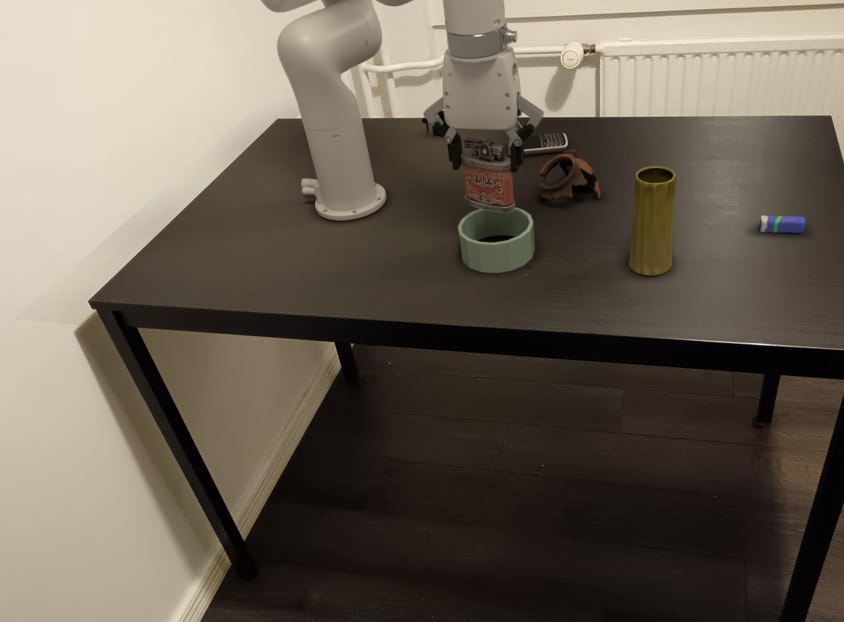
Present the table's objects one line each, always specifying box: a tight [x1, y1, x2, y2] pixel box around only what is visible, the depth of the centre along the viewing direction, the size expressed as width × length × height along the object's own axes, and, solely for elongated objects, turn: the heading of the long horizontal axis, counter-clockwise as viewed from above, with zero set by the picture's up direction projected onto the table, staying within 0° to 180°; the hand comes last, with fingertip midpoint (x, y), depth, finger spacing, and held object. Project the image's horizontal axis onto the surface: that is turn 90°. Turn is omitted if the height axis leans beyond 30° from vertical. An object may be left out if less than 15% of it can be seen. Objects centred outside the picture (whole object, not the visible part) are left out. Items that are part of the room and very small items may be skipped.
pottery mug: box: [537, 148, 602, 201], centre depth 126 cm, size 12×10×8 cm
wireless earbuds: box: [421, 109, 445, 136], centre depth 151 cm, size 7×2×5 cm, turn 75°
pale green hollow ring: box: [457, 206, 536, 274], centre depth 115 cm, size 11×11×5 cm
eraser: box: [759, 215, 806, 234], centre depth 112 cm, size 2×6×2 cm, turn 74°
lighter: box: [461, 136, 516, 213], centre depth 108 cm, size 8×3×10 cm, turn 58°
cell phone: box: [507, 132, 569, 157], centre depth 142 cm, size 6×11×1 cm, turn 89°
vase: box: [628, 165, 677, 277], centre depth 105 cm, size 6×6×14 cm
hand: (487, 166), depth 107 cm, fingers closed on lighter, 8 cm apart
